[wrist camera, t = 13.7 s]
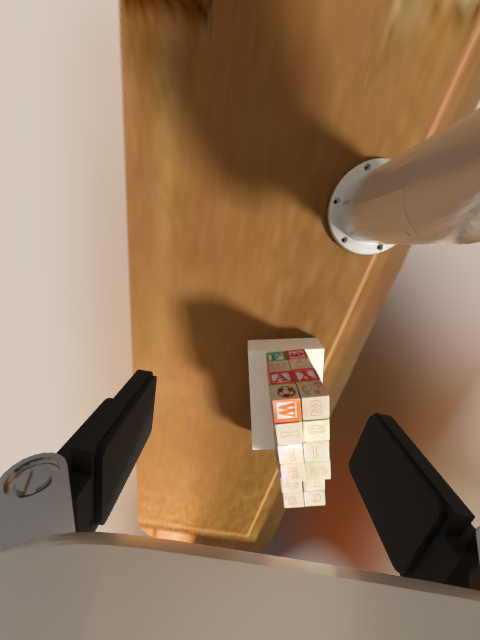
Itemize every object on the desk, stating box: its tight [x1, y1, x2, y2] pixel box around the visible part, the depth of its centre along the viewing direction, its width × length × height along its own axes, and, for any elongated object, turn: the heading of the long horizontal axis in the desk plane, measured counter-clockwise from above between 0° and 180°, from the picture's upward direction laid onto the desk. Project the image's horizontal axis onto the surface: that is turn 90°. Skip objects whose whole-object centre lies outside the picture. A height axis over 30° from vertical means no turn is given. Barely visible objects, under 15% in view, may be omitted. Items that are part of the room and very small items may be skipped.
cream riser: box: [248, 338, 324, 450], centre depth 43 cm, size 12×20×5 cm, turn 3°
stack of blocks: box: [266, 349, 331, 508], centre depth 35 cm, size 21×6×12 cm, turn 7°
